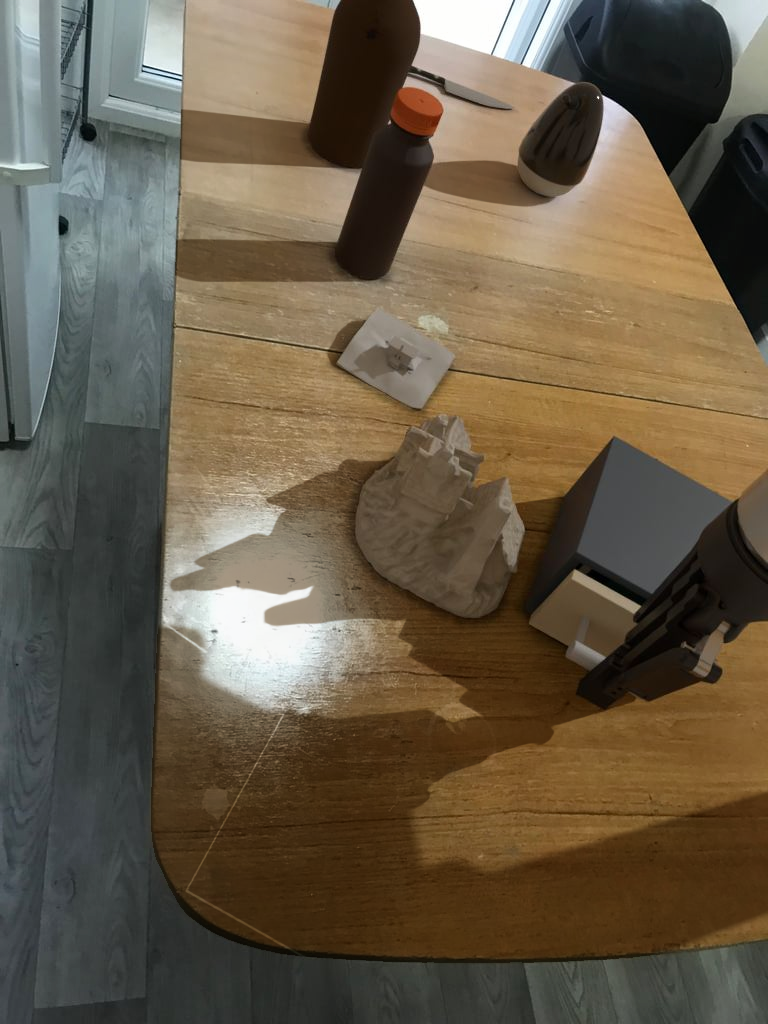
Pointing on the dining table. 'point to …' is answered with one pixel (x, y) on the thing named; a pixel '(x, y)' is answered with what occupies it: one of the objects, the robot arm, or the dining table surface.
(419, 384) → the grey tile
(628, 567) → the cabinet
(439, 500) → the castle ruin model
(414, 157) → the bottle
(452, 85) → the chef's knife
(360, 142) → the olive oil
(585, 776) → the dining table surface
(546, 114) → the two-tone egg figure
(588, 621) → the drawer
